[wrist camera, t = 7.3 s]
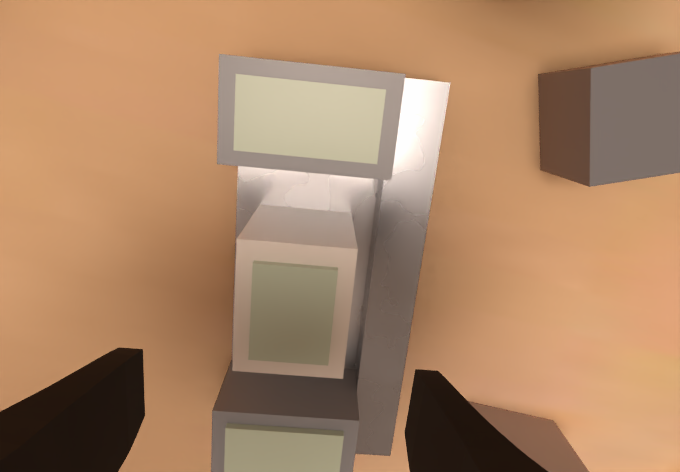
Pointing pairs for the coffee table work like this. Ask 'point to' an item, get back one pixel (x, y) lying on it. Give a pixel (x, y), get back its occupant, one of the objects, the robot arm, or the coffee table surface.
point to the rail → (372, 249)
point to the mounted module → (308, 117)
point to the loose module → (294, 292)
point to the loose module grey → (534, 438)
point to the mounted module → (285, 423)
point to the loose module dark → (611, 120)
